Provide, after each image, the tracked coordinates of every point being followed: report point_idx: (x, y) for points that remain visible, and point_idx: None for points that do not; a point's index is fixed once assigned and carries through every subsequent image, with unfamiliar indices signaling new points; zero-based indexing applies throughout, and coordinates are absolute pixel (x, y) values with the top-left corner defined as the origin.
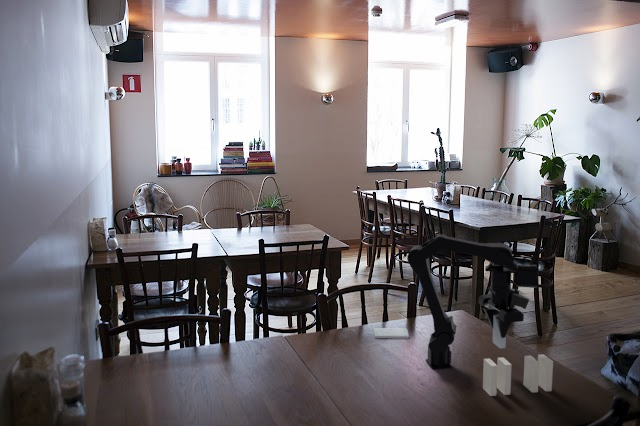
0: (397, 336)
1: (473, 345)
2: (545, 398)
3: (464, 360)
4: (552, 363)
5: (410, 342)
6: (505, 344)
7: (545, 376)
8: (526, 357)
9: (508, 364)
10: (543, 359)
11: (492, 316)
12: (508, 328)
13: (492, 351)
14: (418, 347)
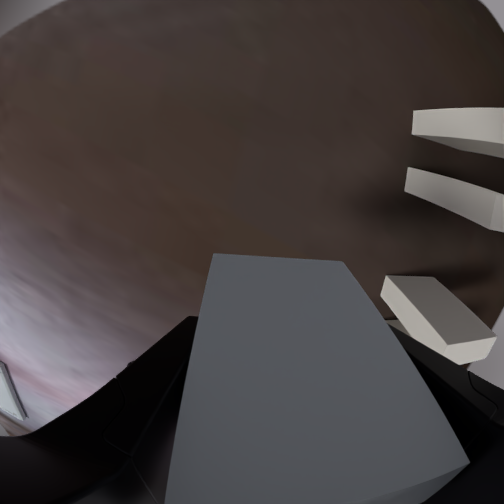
0: (8, 387)
1: (12, 201)
2: (484, 186)
3: (135, 303)
4: None
5: (23, 373)
6: (351, 274)
7: (492, 154)
8: (499, 230)
9: (490, 347)
10: None
11: (162, 500)
12: (465, 372)
13: (63, 144)
14: (47, 374)
